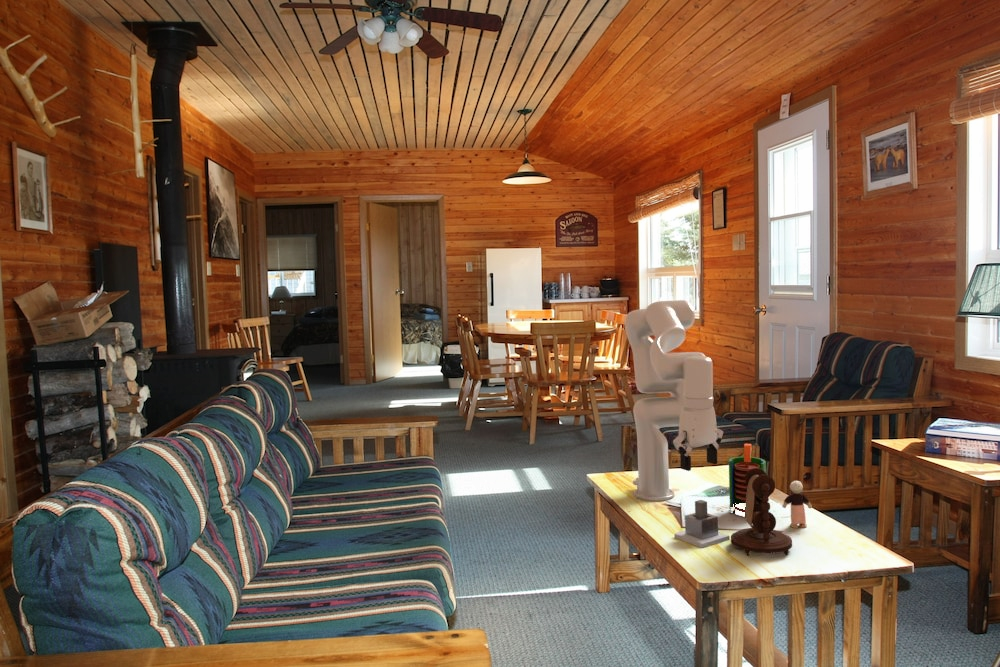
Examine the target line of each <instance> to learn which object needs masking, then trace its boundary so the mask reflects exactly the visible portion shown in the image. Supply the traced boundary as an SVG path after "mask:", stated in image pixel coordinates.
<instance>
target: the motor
mask: <svg viewBox="0 0 1000 667" xmlns="http://www.w3.org/2000/svg"><path fill="white" fill-rule="evenodd" d="M766 464H767V462H766V460H765V459H763V458H759V457H755V456H752V443H744V445H743V456H736V457H731V458H730V459H728V479H729V480H728V485H729V508H730V507H733V504H734V507H735V505H736V504H739V503H746V494H747V488H748V485H747V484H746V482H745V476H746V473H747V472H748V471H749V470H750V469H753V468H760V469H762V470H763V471H765V473H766V474H767V466H766ZM735 503H736V504H735ZM757 503H758V502H757ZM735 509H737V510H739V511H742V512H745V510H743V509H739V508H737V507H735Z"/></svg>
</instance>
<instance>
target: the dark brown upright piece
mask: <svg viewBox="0 0 1000 667" xmlns="http://www.w3.org/2000/svg"><path fill="white" fill-rule="evenodd" d="M745 482H746V484H747V485H748V488H747V494H746V507H745V517H746V518H745V517H744V518H745V520H746V523H747V524H748V525H749V527H747V528H743V529H739V530H737V531H735V532H734V533H732V534H731V535H730V543H731V544H732V545H733V547H735V548H737V549H740V550H743V551H744V553H745V556H747V557H748V556H750V553H757V554H777V553H778V554H779V553H780V554H781V553H784V555H786V556H787V555H788V554H789V550H791V549H792V547H793V539H792V538H791V537H790V536H789V535H787V534H785V533H783V531H779V530H776V529H775V528H776V525H777V518H776V517H775V515H774V514H773V513H772V512H770V509H771V503H770V502H769V500H770V498H769V497H770V496H771V495H772V494H773V493H774V492H775V489H776V482H775V480H774V479H773V477H772V476H770V475H768V474H767V472H766V473H765V471H763V470H762V469H760V468H753V469H750V470H749V471H748V472H747V473H746V476H745ZM757 502H758V503H757Z"/></svg>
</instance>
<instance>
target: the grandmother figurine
mask: <svg viewBox="0 0 1000 667" xmlns="http://www.w3.org/2000/svg"><path fill="white" fill-rule="evenodd" d="M789 488H790V490H791V492H792V494H789V495H788V496H786V497H785V498H784V500H783V504H782V505H781V506H782V508H783V509H786V508H787V506H788V505H789V504H790V522H791V523H790V524H789V526H790V527H791V528H793V529H799V527H800V528H803V529H804V528H807V527H808V524H807V522H806V521H807V519H806V511H805V505H804V503H805V504H806V506H807V508H808V509H812V507H813V506H812V503H811V502H810V500H809V498H808V497H807V496H806V495H805V494H803V493H801V492H802V491H803V488H804V487H803V483H802V482H801V481H800V480H793V481H792V482H791V483H790V485H789Z"/></svg>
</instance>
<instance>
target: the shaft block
mask: <svg viewBox="0 0 1000 667" xmlns="http://www.w3.org/2000/svg"><path fill="white" fill-rule="evenodd" d="M694 513H695V517H697V518H700V519H704V518H707V513H708V501H706V500H703V499H699V500H695V501H694ZM674 538H676V539H678V540H682V541H683V542H687V543H689V544H692V545H694V546H698V547H700V548H706V547H709V546H712V545H716V544H720V543H723V542H725V541H729V540H731V535H729V534H726V533H724V532H720V531H718V535H717V536H714V537H710V538H707V539H704V540H701V539H698V538H695V537H693V536H690V535H687V534H685V530H683V531H679V532H675V533H674Z"/></svg>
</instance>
